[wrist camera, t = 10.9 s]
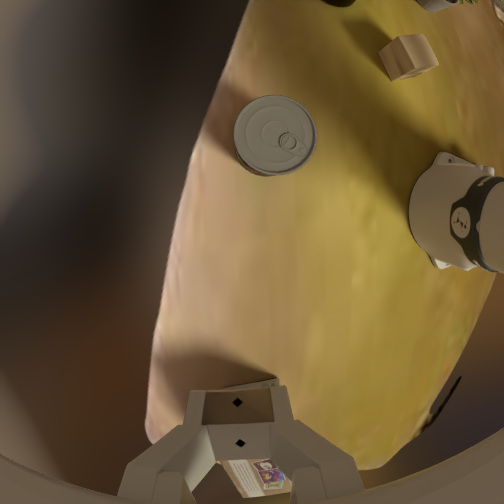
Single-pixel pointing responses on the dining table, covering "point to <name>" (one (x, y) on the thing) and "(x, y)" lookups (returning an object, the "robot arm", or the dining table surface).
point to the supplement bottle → (340, 2)
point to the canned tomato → (274, 136)
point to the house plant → (440, 4)
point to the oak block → (407, 56)
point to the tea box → (256, 464)
